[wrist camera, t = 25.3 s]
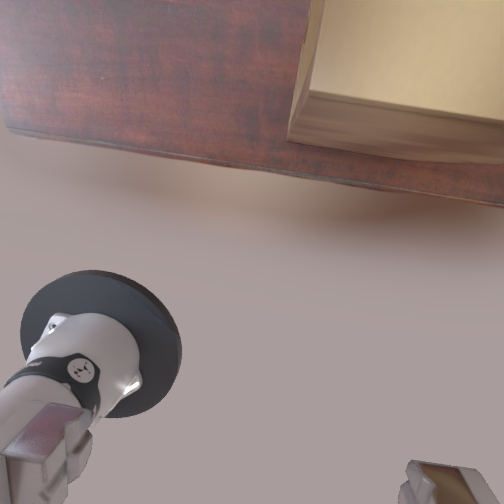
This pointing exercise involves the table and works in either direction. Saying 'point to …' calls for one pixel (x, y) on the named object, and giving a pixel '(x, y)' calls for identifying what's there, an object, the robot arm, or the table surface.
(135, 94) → the table surface
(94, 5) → the table surface
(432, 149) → the tall wooden cabinet
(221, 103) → the table surface
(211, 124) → the table surface
